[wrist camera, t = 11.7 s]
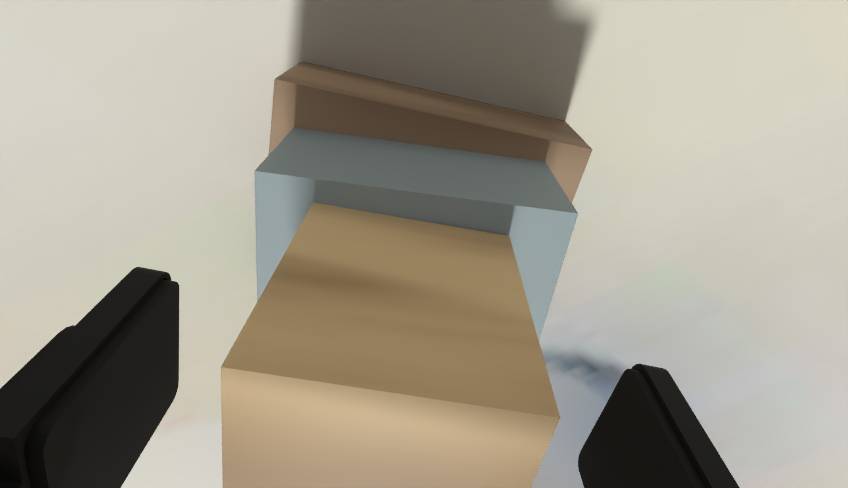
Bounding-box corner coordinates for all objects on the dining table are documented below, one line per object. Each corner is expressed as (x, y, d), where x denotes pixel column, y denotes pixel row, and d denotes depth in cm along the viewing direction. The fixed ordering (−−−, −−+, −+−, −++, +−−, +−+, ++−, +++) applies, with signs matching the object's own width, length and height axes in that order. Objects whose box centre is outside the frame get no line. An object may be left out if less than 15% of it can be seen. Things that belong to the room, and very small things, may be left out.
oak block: (467, 382, 15) (483, 600, 10) (300, 356, 15) (223, 568, 9) (509, 236, 13) (559, 418, 7) (313, 202, 12) (220, 367, 7)
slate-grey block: (494, 354, 20) (508, 436, 16) (290, 331, 19) (259, 410, 16) (545, 161, 16) (578, 213, 13) (293, 127, 16) (254, 170, 12)
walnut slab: (491, 323, 24) (502, 382, 20) (281, 284, 23) (254, 340, 20) (562, 118, 19) (592, 149, 16) (304, 60, 19) (274, 79, 15)
